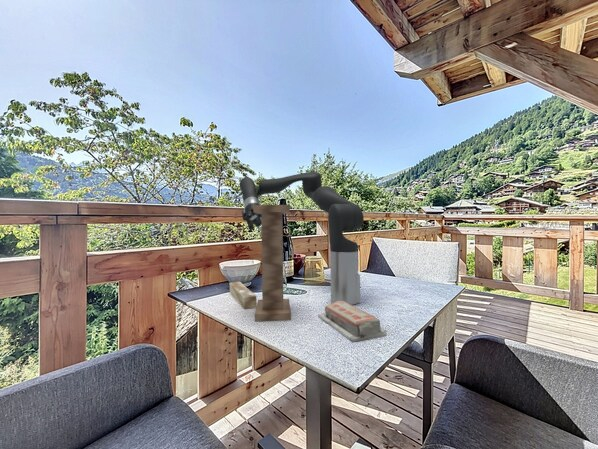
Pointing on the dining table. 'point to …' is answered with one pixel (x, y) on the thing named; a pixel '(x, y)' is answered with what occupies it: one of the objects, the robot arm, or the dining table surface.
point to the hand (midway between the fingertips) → (258, 233)
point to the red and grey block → (352, 322)
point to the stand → (272, 265)
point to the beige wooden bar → (243, 295)
